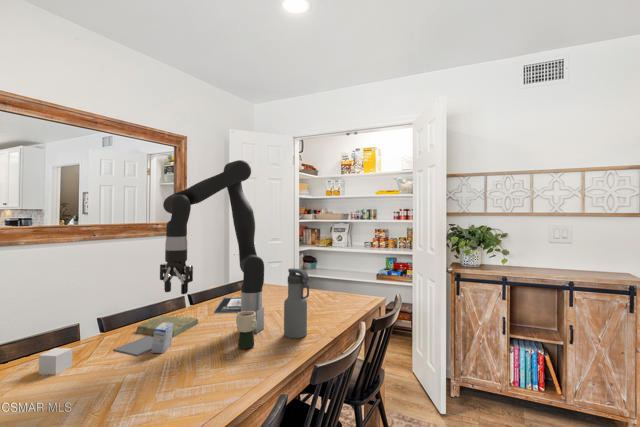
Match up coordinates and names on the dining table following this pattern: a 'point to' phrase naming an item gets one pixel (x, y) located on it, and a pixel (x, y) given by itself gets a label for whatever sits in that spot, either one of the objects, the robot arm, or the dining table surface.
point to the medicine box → (162, 337)
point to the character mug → (246, 328)
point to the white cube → (55, 361)
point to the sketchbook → (229, 305)
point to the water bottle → (296, 305)
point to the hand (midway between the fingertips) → (175, 292)
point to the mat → (137, 346)
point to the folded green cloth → (179, 322)
